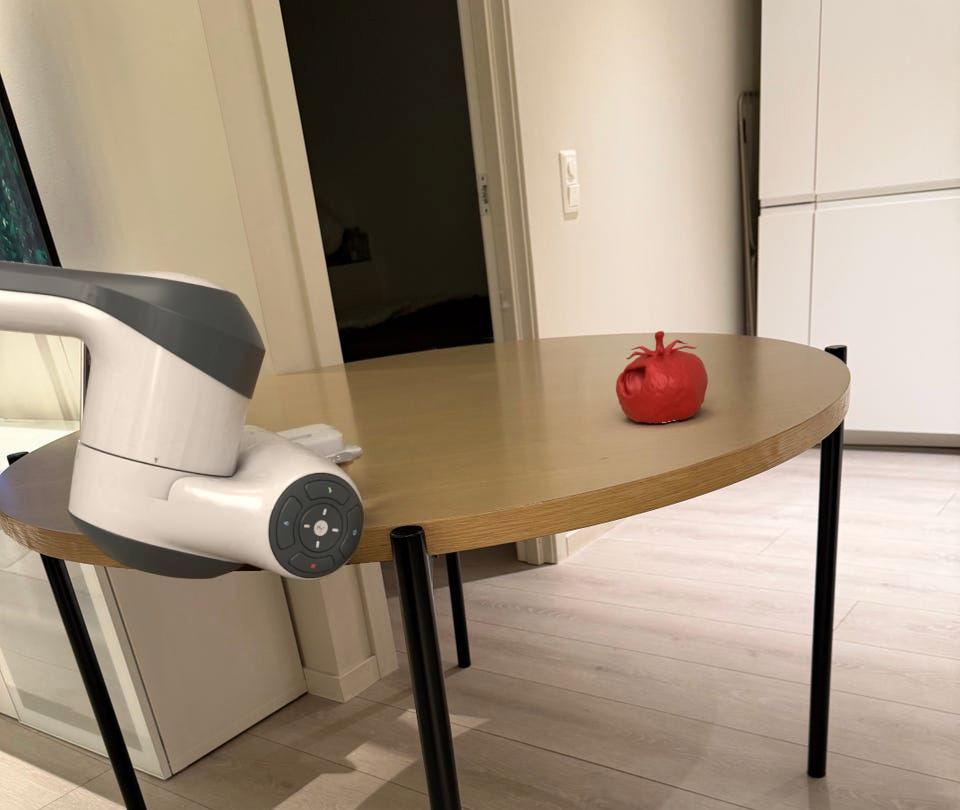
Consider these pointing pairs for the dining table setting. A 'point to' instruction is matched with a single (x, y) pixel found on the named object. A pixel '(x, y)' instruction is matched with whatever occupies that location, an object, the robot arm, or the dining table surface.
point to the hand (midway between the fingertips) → (206, 457)
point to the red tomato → (662, 384)
